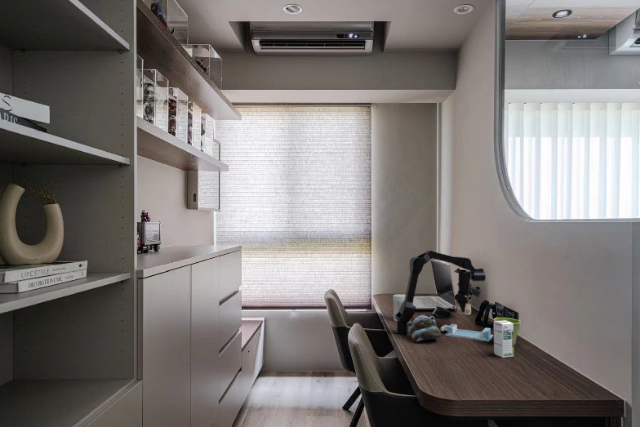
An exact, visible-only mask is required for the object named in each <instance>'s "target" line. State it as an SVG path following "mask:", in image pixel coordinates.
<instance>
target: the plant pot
mask: <svg viewBox="0 0 640 427" xmlns="http://www.w3.org/2000/svg"><path fill="white" fill-rule="evenodd" d="M504 320H505V321H509V322H512V323H513V331H514V346H515V345H516V342H517V339H518V338H517V336H518V332H519V331H518V330H519V328H520V324H521V323H522V322H521V320H519V319H517V318H516V319H515V318H509V317H495V318H493V322H494V321H504Z"/></svg>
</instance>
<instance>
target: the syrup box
mask: <svg viewBox="0 0 640 427" xmlns="http://www.w3.org/2000/svg"><path fill="white" fill-rule="evenodd" d="M514 346H515V345H514V331H513V323H512V322H509V321H505V320H504V321H494V320H493V351H494V352H493V353H494V355H496V356H498V357H500V358H502V359H504V358H512V357H515V350H514V349H515V347H514Z"/></svg>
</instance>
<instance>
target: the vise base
mask: <svg viewBox="0 0 640 427" xmlns="http://www.w3.org/2000/svg"><path fill="white" fill-rule="evenodd" d="M444 336H447V337H453V338H460V339H468V340H469V339H470V340H474V339H475V341H482V342H490V341H491V340H492V338H494V334H491V328H490V327H485V328H484V329H483V330H482V331H476V330H475V331H474V330H469V329H468V330H467V329H459V328H457V331H456V332H455V333H454V334H450V333H448V331H446V333H445V334H444Z"/></svg>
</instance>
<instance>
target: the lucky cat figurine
mask: <svg viewBox="0 0 640 427" xmlns="http://www.w3.org/2000/svg"><path fill="white" fill-rule="evenodd" d="M407 325H408V331H410V333H409V334H410V336H411V341H412V342H413V343H415V344H416V343H418V342H422V341H423V342H424V341H426V340H437V339H440V338H441V336H442V333H441V332H442V331H441V329H440V328H439V327H438V325H437V321H436V317H435V315H434V316H433V315H431V316H430V315H429V314H428V313H425V314H424V315H422V314H421V315H418V316H415V317H414V316H413V317H412V318H411V319H410V321H409V322H408V323H407Z"/></svg>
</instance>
